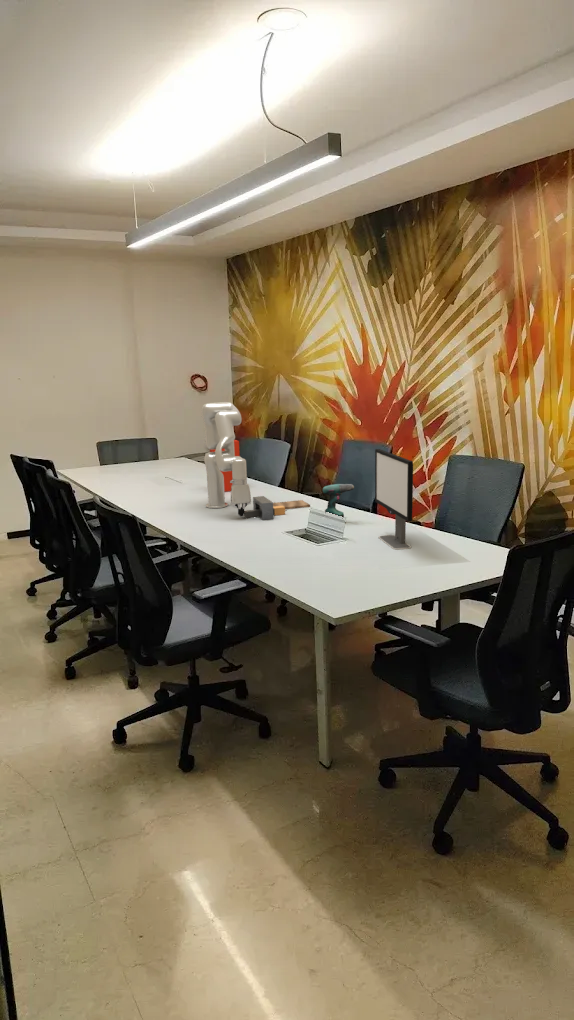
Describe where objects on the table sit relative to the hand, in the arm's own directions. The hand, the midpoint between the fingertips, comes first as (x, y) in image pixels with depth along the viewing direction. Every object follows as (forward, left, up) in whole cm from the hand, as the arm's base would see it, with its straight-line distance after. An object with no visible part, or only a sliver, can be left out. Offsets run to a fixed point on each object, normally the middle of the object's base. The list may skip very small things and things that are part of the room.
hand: (241, 515), depth 348 cm
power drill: (+3, +52, -2) cm, 53 cm away
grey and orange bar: (-7, +11, -1) cm, 13 cm away
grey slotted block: (-6, +10, -1) cm, 12 cm away
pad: (-30, +17, -1) cm, 34 cm away
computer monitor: (+38, +82, -2) cm, 91 cm away
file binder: (-72, -31, -2) cm, 78 cm away
